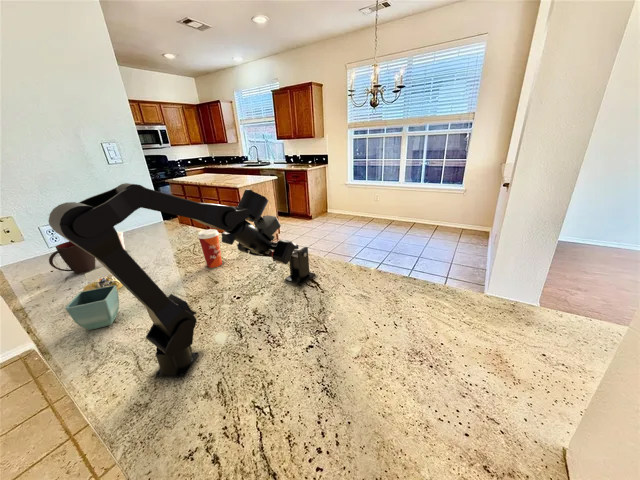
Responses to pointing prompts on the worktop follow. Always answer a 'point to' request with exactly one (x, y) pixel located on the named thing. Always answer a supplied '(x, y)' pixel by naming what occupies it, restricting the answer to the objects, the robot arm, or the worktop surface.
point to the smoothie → (121, 238)
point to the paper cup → (210, 247)
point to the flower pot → (95, 307)
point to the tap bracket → (300, 267)
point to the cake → (103, 282)
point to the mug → (74, 258)
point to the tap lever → (292, 253)
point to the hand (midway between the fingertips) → (281, 257)
